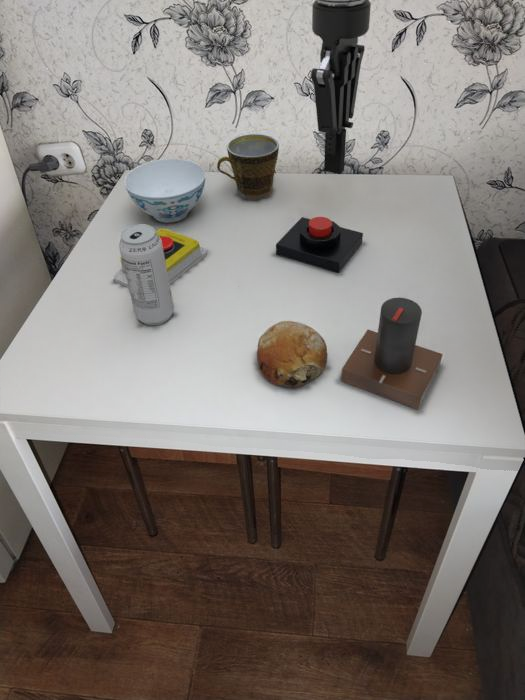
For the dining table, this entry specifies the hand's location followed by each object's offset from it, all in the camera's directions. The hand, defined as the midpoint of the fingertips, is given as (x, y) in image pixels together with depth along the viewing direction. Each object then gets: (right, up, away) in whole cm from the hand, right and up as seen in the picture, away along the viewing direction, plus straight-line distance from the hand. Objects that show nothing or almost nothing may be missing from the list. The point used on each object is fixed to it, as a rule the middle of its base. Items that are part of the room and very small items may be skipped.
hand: (334, 170), depth 92 cm
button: (-1, -8, +10) cm, 12 cm away
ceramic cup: (-14, +3, +27) cm, 30 cm away
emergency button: (-29, -14, +10) cm, 33 cm away
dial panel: (+7, -31, -10) cm, 34 cm away
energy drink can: (-28, -23, +1) cm, 36 cm away
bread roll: (-7, -30, -8) cm, 32 cm away
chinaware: (-29, -2, +23) cm, 37 cm away
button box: (-1, -10, +12) cm, 16 cm away
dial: (+6, -30, -12) cm, 33 cm away
